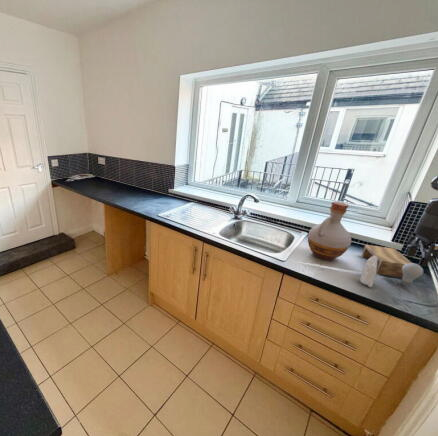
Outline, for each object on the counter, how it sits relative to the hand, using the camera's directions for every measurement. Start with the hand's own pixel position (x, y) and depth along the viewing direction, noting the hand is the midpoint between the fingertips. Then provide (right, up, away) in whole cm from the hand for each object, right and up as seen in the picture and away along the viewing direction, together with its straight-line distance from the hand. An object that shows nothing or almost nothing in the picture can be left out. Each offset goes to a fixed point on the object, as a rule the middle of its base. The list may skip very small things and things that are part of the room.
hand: (415, 260), depth 101 cm
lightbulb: (0, -12, +4) cm, 13 cm away
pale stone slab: (-13, -10, +8) cm, 19 cm away
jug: (-20, -3, +27) cm, 34 cm away
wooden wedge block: (+5, -6, +19) cm, 20 cm away
